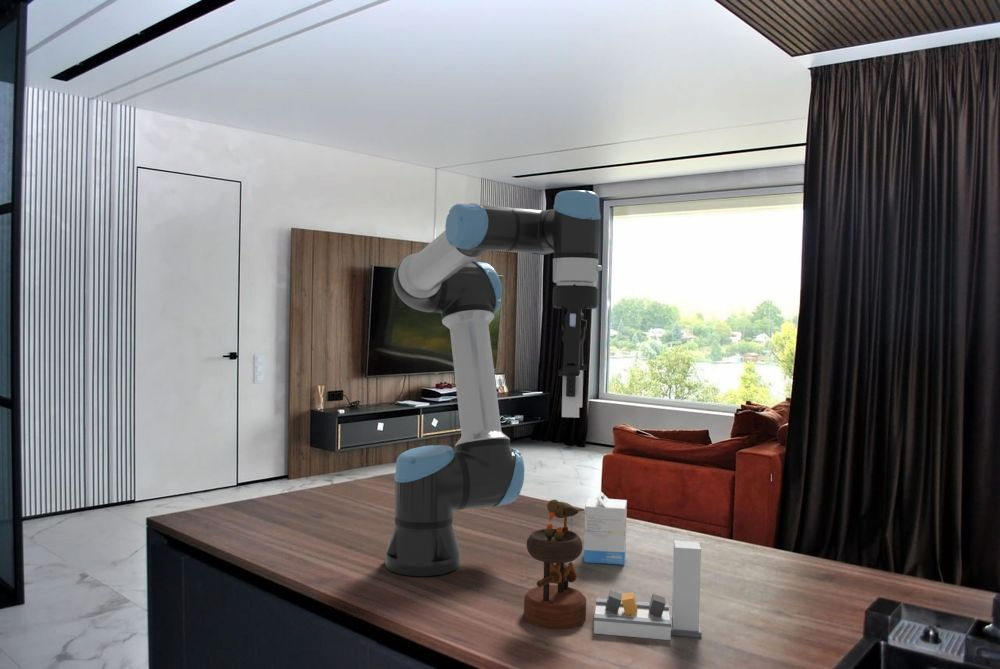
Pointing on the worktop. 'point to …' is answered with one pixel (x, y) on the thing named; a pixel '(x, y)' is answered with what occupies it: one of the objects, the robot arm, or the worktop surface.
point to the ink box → (605, 530)
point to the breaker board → (632, 622)
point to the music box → (556, 574)
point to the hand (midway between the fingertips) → (572, 412)
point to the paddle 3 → (656, 605)
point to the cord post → (686, 589)
